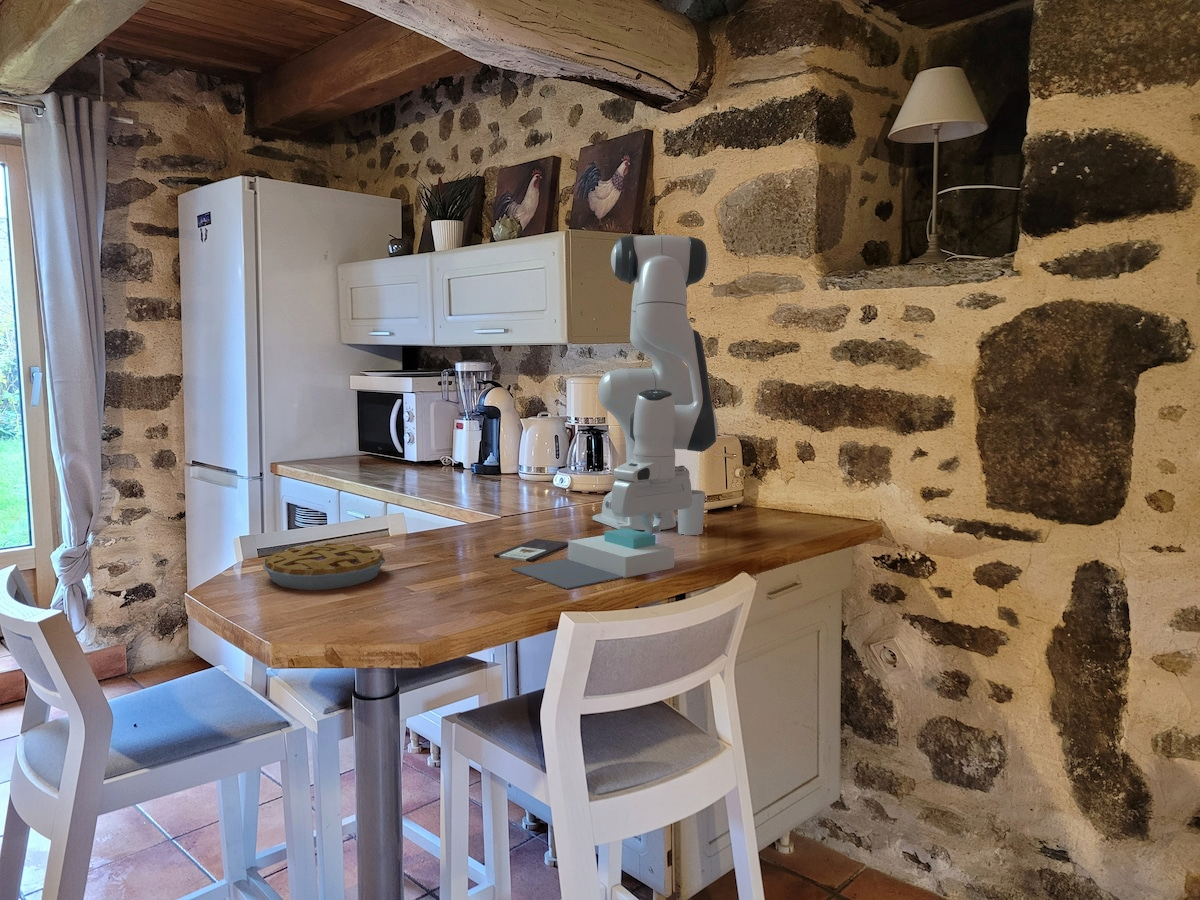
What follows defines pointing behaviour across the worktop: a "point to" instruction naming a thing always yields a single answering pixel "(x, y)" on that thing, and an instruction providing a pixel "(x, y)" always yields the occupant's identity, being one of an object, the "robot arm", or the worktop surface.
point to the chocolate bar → (532, 550)
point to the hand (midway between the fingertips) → (652, 533)
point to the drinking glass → (692, 515)
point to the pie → (324, 566)
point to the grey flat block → (620, 556)
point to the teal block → (629, 538)
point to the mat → (566, 573)
